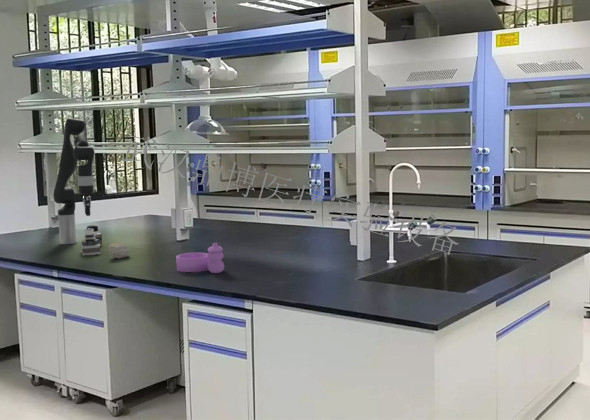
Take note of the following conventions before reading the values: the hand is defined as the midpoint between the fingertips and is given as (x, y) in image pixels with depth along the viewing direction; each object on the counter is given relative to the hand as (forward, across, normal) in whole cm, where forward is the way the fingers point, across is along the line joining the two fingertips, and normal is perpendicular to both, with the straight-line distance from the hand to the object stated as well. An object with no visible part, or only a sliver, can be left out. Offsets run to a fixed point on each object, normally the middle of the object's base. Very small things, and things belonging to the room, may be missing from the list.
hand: (87, 214), depth 344 cm
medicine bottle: (+21, +22, -3) cm, 31 cm away
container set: (+20, -72, -45) cm, 87 cm away
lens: (+16, 0, 0) cm, 16 cm away
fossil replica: (+21, -22, -14) cm, 33 cm away
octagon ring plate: (+21, 0, 0) cm, 21 cm away
